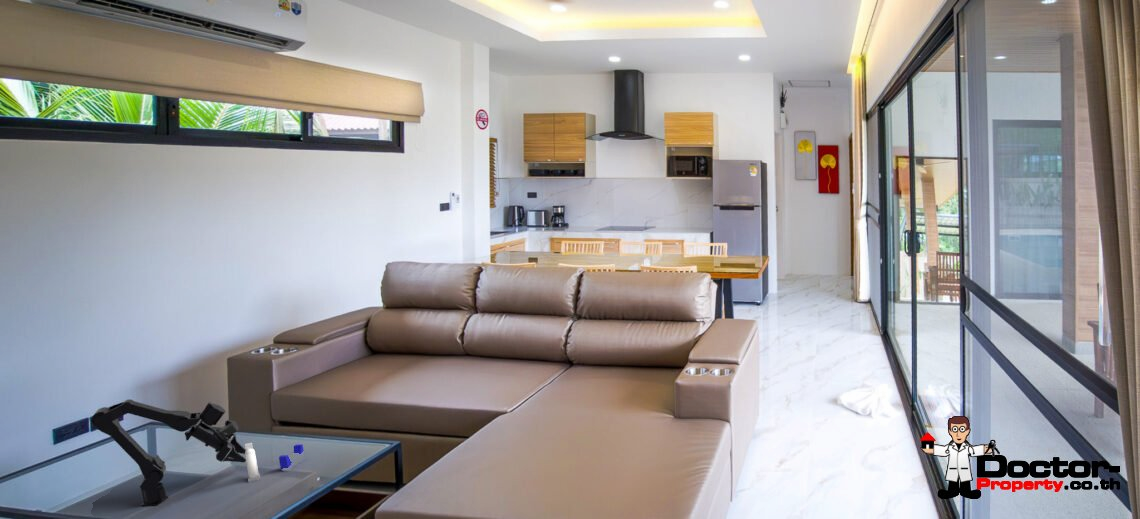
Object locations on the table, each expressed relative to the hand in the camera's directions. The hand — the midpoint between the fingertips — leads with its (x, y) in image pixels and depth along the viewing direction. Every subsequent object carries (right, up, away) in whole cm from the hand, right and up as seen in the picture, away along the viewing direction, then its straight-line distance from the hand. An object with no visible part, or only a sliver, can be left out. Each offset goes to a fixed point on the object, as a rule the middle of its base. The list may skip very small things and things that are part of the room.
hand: (245, 456), depth 285 cm
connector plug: (+2, -9, +2) cm, 9 cm away
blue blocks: (+12, -7, +12) cm, 19 cm away
